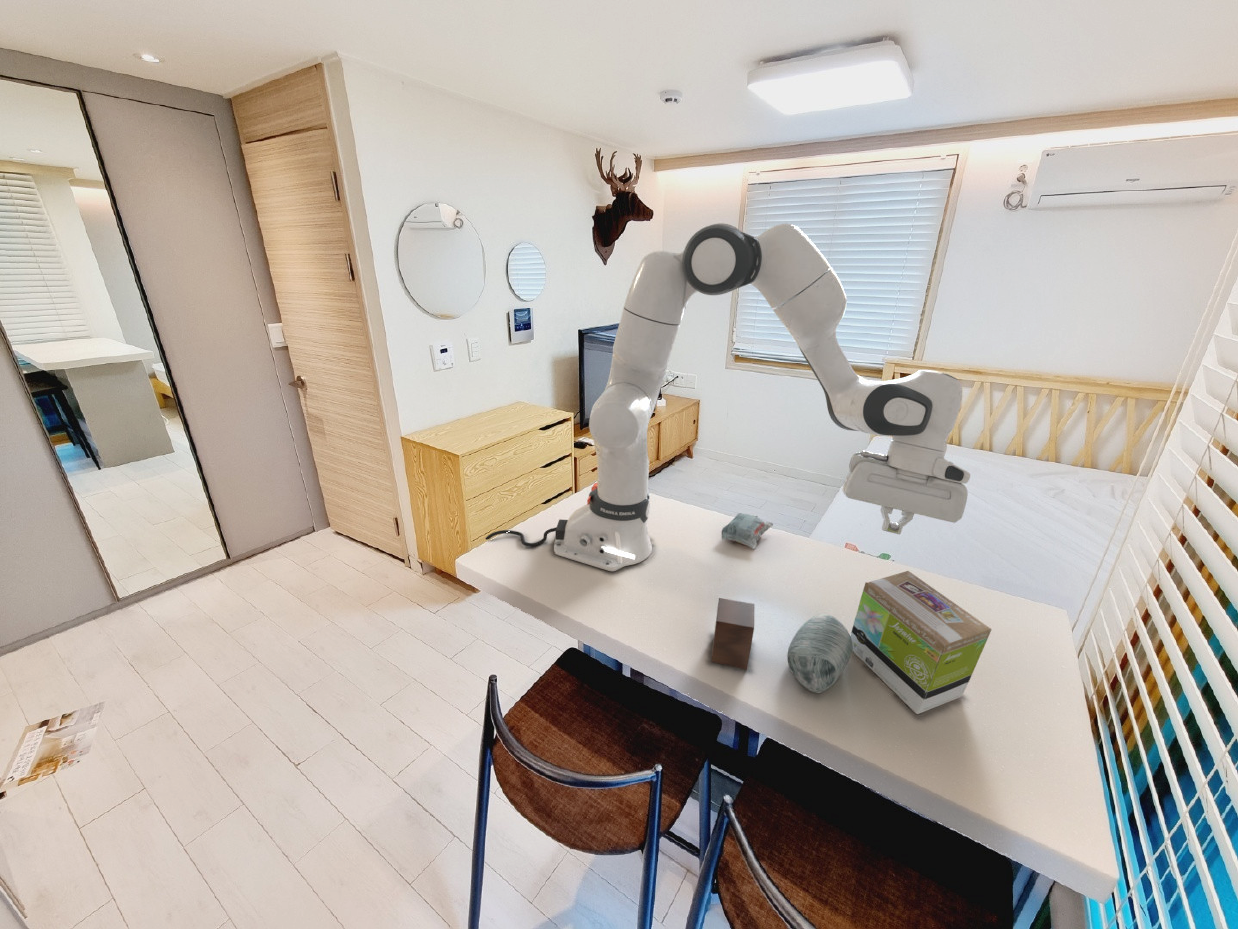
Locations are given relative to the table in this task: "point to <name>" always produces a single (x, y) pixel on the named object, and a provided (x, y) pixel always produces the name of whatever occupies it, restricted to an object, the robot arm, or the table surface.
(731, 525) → the packaged food
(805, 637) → the spool
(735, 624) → the walnut block
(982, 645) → the tea box
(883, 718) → the table surface
